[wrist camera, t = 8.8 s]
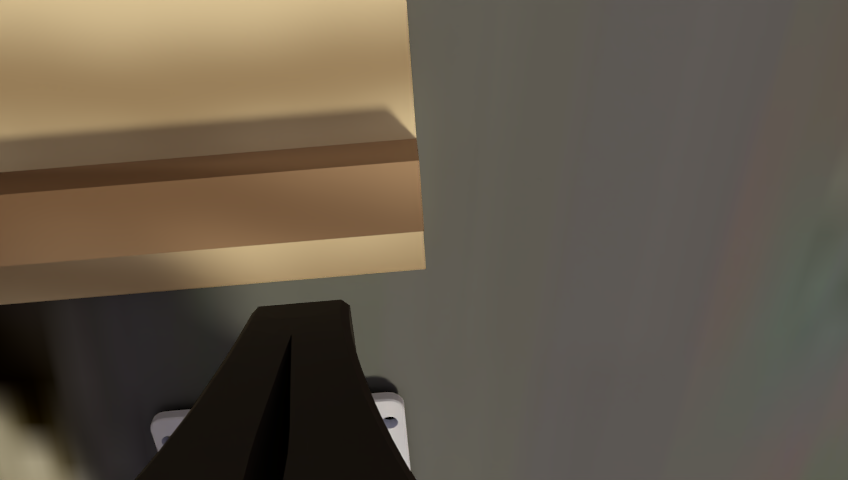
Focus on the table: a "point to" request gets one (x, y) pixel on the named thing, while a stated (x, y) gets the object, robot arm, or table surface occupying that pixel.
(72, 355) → the table surface
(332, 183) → the slot board
